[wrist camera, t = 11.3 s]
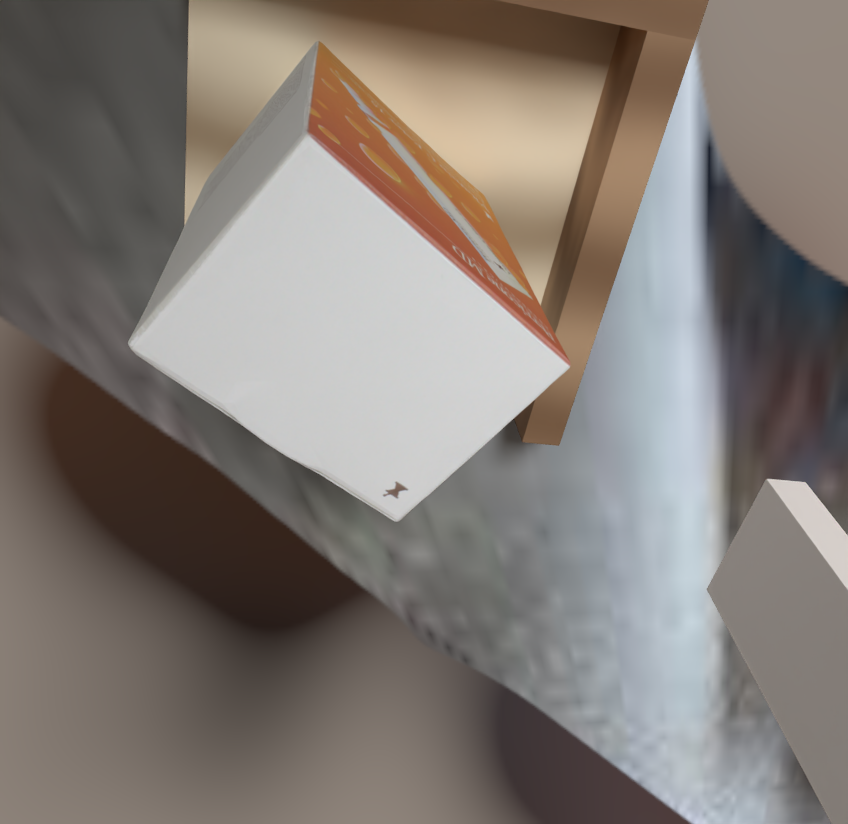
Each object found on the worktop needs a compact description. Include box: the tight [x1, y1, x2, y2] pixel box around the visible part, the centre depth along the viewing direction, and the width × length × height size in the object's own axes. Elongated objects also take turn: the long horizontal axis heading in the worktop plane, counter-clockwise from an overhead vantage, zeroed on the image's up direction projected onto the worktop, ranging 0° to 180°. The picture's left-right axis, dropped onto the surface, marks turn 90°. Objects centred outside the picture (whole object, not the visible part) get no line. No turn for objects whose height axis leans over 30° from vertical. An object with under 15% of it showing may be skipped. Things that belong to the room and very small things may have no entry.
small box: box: [128, 41, 571, 522], centre depth 23 cm, size 8×6×13 cm
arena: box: [184, 0, 709, 446], centre depth 28 cm, size 17×16×4 cm
